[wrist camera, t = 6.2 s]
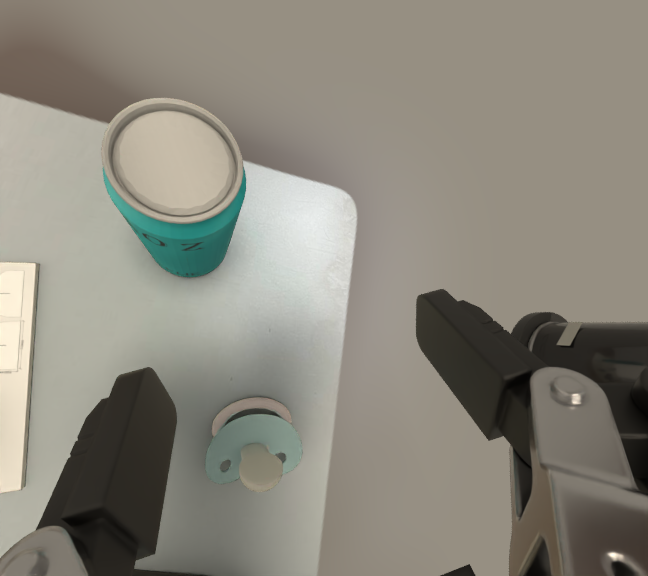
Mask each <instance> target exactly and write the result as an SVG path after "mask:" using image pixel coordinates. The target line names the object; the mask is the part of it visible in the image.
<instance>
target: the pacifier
mask: <svg viewBox="0 0 648 576" xmlns="http://www.w3.org/2000/svg"><path fill="white" fill-rule="evenodd" d="M253 408H263V409H268V410H271V411H273V412H275V413H276V414H278V416H279V417H280V418H279V417H277V416H274V415H268V414H252V415H246V416H243V417H240V418H237V419H235V420H233V421H231V422H229V423H228V424H226V422H227V421H228V420H229V419H230V418H231V417H232V416H233V415H235V414H237V413H239V412H241V411H244V410H247V409H253ZM225 424H226V425H225ZM224 425H225V426H224ZM212 434H213V437H214V438H213V439H212V442H211V443H210V445H209V448H208V450H207V454H206V458H205V469H206V473H207V476H208V477H209V479H210V480H211V481H213V482H215V483H218V484H226V483H230V482H233V481H235V480H237V479H239V478H241V481H242V482H243V484H244V485H245V486H246V487H247V488H248V489H250V490H252V491H255V492H265V491H268V490H270V489H272V488H273V487H274V486H275V485H276V484H277V483H278V482H279V480H280V478H281V476H282V474H285V473H288V472H290V471H291V470H293V469H294V468H295V467H296V466H297V465H298V463H299V462H300V459H301V457H302V443H301V440H300V437H299V435H298V433H297V431H296V430H295V428H294V427H293V426H292V425H291V415H290V413H289V411H288V409H287V408H286V407H285V406H284V405H283V404H281V403H280V402H278V401H275V400H273V399H269V398H261V397H253V398H247V399H242V400H239V401H237V402H234V403H232V404H230V405H228V406H227V407H225V408H224V409H223V410H222V411H221V412H220V413H218V415H217V416H216V418H215V419H214V421H213V425H212ZM279 452H282V453H284V454H285V455H286V459H285V460H284V461H283V462H281V460H280V459H279V458H278V457H277V456H276V454H277V453H279ZM224 460H230V461H231V465H230V467H229V468H228V469H227V470H225V471H222V470H221V469H220V465H221V463H222V462H223V461H224Z"/></svg>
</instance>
